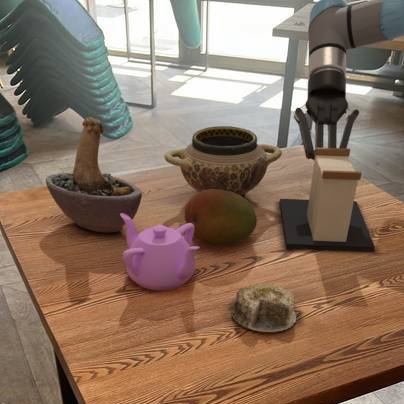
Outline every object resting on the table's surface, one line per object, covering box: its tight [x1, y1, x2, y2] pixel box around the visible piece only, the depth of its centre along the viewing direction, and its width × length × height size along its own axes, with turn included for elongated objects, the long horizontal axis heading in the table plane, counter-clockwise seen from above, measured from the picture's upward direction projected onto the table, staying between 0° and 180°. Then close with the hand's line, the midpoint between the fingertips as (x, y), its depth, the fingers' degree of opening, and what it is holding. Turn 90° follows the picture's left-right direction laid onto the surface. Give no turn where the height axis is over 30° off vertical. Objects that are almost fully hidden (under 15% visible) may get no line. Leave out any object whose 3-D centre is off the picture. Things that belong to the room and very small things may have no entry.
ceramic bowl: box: [163, 125, 283, 199], centre depth 117 cm, size 24×18×15 cm
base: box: [278, 167, 376, 253], centre depth 108 cm, size 16×20×14 cm
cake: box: [231, 283, 297, 333], centre depth 86 cm, size 10×10×5 cm
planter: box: [45, 116, 143, 234], centre depth 104 cm, size 15×17×20 cm
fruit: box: [184, 189, 258, 247], centre depth 103 cm, size 12×13×10 cm
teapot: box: [120, 213, 201, 291], centre depth 94 cm, size 12×14×9 cm
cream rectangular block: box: [307, 147, 354, 228], centre depth 107 cm, size 6×6×13 cm
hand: (324, 191), depth 113 cm, fingers closed
